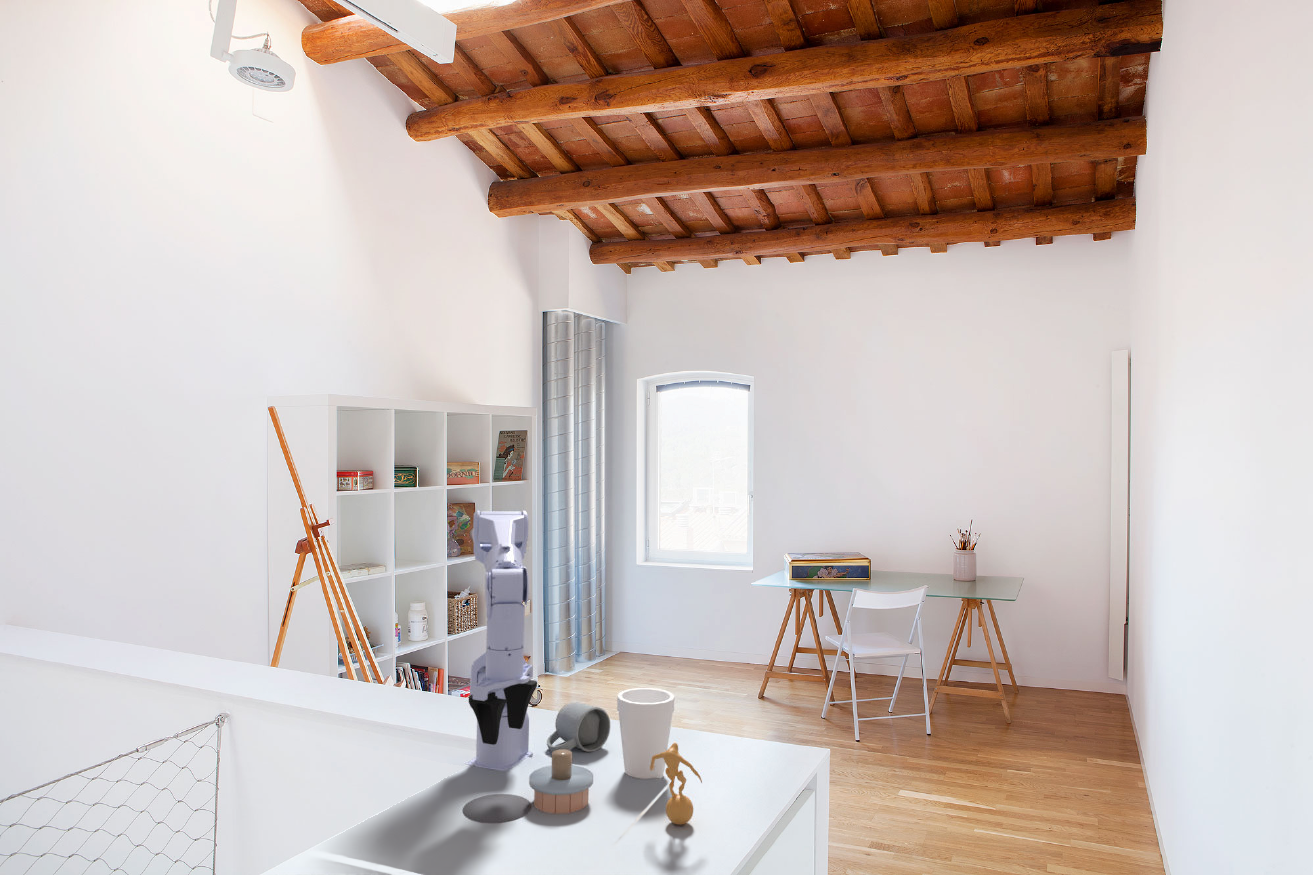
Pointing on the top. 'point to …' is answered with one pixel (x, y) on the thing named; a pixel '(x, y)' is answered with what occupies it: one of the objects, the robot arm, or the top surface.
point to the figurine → (679, 805)
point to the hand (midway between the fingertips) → (502, 735)
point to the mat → (497, 808)
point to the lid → (561, 776)
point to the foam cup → (644, 729)
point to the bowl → (561, 802)
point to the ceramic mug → (580, 728)
